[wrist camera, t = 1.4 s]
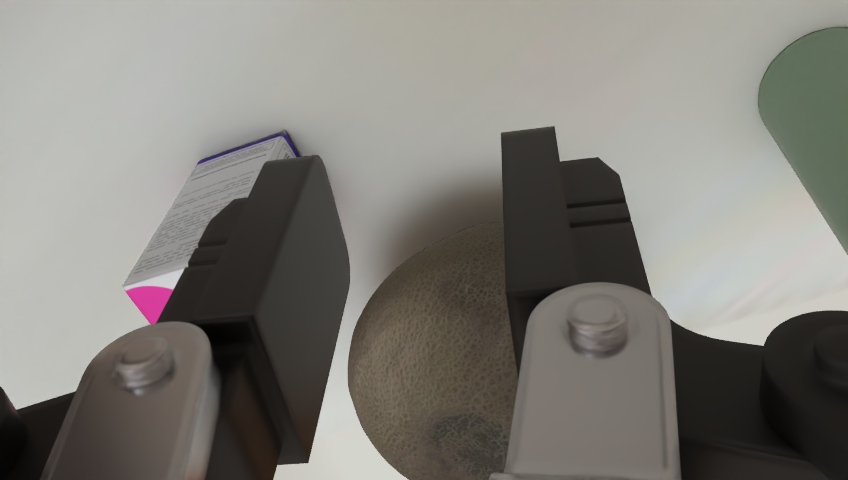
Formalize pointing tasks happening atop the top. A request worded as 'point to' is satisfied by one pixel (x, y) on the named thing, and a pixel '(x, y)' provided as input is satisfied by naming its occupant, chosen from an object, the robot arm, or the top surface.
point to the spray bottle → (813, 119)
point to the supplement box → (197, 218)
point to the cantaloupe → (439, 361)
